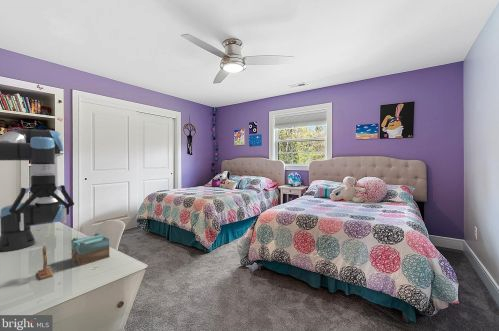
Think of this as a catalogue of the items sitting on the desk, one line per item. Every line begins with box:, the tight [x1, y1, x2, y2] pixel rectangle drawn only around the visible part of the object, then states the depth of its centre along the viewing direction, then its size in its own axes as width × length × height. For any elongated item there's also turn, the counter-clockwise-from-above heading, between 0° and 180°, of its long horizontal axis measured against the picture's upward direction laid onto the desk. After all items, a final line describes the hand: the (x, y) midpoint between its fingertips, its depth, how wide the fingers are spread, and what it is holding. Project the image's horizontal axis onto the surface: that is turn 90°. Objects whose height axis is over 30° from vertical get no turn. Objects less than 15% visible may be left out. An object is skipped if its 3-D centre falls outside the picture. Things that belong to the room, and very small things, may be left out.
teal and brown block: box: [71, 232, 110, 266], centre depth 115 cm, size 12×12×10 cm
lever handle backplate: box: [37, 245, 54, 281], centre depth 98 cm, size 9×4×12 cm, turn 47°
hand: (44, 226), depth 98 cm, fingers open, 13 cm apart
